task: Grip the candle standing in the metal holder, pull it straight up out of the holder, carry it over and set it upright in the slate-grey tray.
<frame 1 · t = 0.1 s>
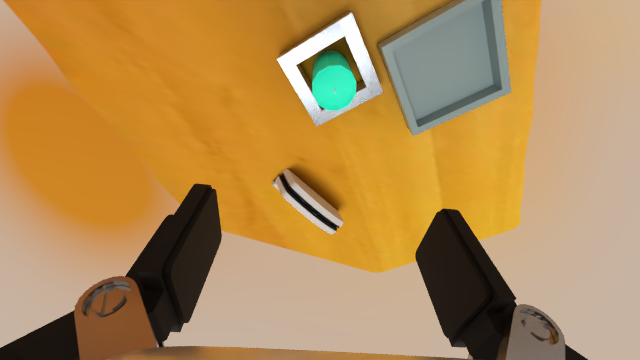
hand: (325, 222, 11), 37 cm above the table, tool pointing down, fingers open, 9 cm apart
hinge: (310, 192, 58), on the table
holder: (331, 70, 42), on the table
candle: (331, 69, 43), resting in holder
tray: (440, 65, 42), on the table
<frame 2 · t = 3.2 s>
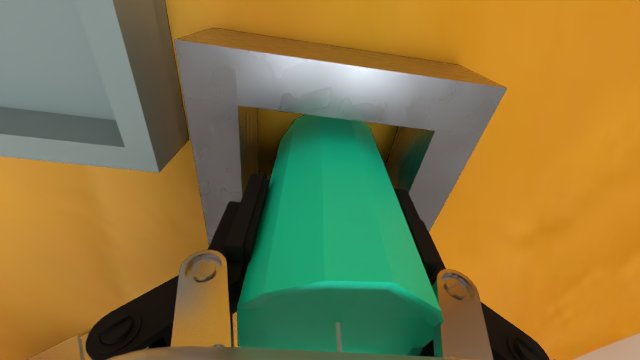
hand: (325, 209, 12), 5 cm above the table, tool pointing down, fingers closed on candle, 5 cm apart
holder: (323, 154, 16), on the table
candle: (327, 153, 16), resting in holder, touching gripper
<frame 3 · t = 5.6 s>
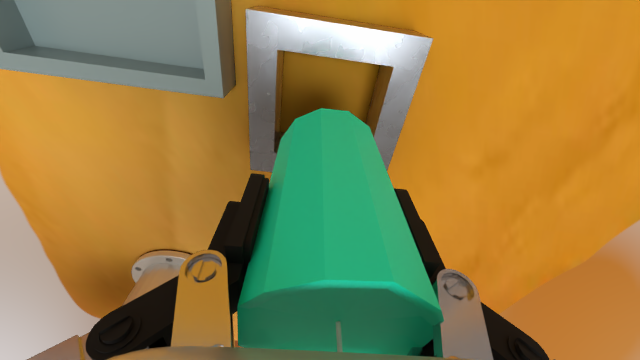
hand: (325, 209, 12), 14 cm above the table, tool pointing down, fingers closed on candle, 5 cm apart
holder: (326, 97, 23), on the table
candle: (327, 153, 16), point 9 cm above the table, touching gripper
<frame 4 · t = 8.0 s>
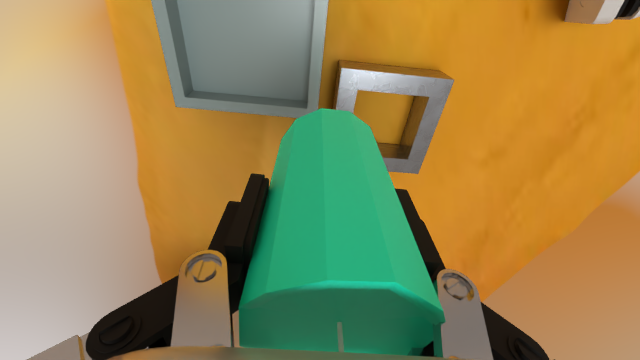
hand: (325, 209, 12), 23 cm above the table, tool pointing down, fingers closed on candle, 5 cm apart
holder: (378, 114, 34), on the table
candle: (328, 153, 16), point 18 cm above the table, touching gripper
tray: (249, 30, 28), on the table
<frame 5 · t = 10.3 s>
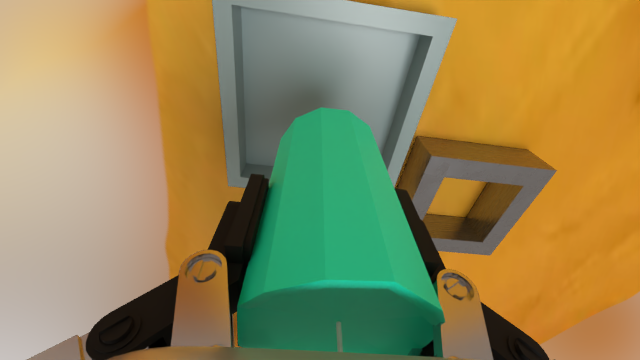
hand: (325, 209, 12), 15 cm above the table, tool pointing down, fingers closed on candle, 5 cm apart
holder: (448, 189, 30), on the table
candle: (327, 153, 16), point 10 cm above the table, touching gripper
tray: (321, 103, 24), on the table
when the fingers open (7 cm above the table, at t = 12.6 s): candle stays where it is, resting on tray.
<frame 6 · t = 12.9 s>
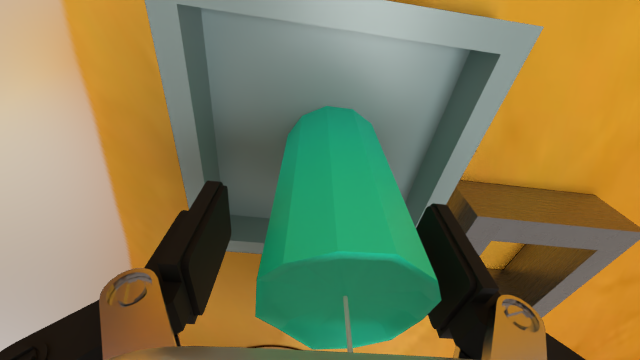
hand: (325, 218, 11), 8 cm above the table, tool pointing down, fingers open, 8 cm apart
holder: (485, 239, 23), on the table
candle: (331, 149, 17), point 1 cm above the table, touching tray
tray: (322, 139, 17), on the table
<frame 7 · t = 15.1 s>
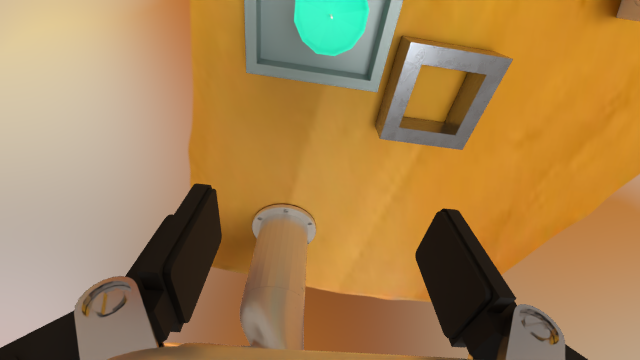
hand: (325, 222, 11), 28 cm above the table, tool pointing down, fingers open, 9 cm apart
holder: (429, 91, 35), on the table
candle: (328, 5, 29), point 1 cm above the table, touching tray
tray: (323, 1, 29), on the table
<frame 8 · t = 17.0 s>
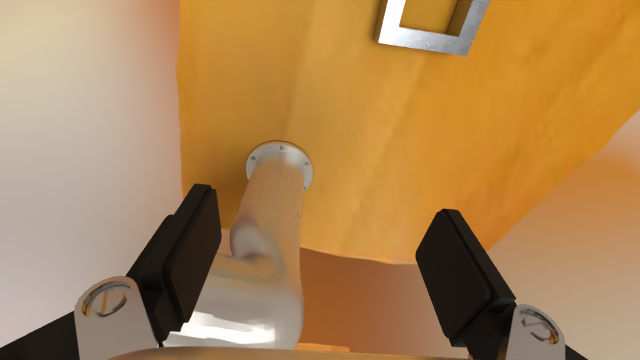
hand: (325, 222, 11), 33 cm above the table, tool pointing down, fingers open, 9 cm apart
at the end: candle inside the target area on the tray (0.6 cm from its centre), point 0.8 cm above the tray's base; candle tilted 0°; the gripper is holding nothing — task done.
